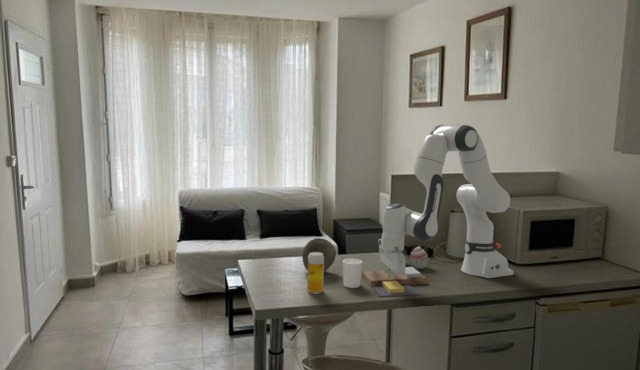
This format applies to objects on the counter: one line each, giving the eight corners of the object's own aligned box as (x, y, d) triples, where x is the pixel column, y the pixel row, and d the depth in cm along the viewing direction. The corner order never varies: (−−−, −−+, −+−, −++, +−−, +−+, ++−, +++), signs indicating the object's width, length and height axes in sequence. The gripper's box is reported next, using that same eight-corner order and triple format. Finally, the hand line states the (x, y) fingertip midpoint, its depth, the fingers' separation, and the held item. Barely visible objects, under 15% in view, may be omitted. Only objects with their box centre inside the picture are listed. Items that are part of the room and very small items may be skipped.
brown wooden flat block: (414, 274, 207) (415, 269, 207) (426, 283, 195) (426, 278, 195) (361, 277, 202) (362, 271, 202) (370, 286, 190) (370, 280, 190)
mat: (408, 285, 193) (408, 284, 193) (419, 294, 183) (419, 293, 183) (370, 287, 190) (370, 286, 190) (379, 296, 179) (380, 295, 179)
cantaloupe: (316, 280, 197) (317, 244, 195) (295, 271, 208) (296, 238, 206) (341, 273, 207) (342, 239, 205) (319, 265, 217) (320, 233, 215)
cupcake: (432, 269, 215) (433, 248, 214) (414, 271, 212) (415, 249, 211) (421, 263, 224) (422, 243, 223) (404, 265, 221) (405, 244, 219)
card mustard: (396, 284, 193) (396, 280, 192) (404, 292, 184) (404, 288, 184) (381, 285, 191) (382, 281, 191) (389, 293, 183) (389, 289, 182)
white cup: (355, 290, 186) (356, 265, 185) (338, 286, 191) (339, 261, 189) (364, 284, 193) (365, 260, 192) (347, 280, 197) (348, 257, 196)
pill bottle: (307, 288, 186) (307, 251, 185) (322, 288, 187) (323, 251, 185) (307, 294, 180) (308, 256, 179) (323, 294, 181) (324, 255, 179)
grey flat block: (412, 270, 205) (412, 266, 205) (420, 277, 196) (420, 273, 196) (398, 271, 204) (399, 267, 203) (407, 277, 195) (407, 273, 195)
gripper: (410, 251, 179) (408, 286, 181) (391, 238, 199) (389, 270, 201) (394, 251, 178) (393, 287, 179) (376, 238, 198) (375, 271, 199)
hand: (391, 278), depth 190 cm, fingers closed
